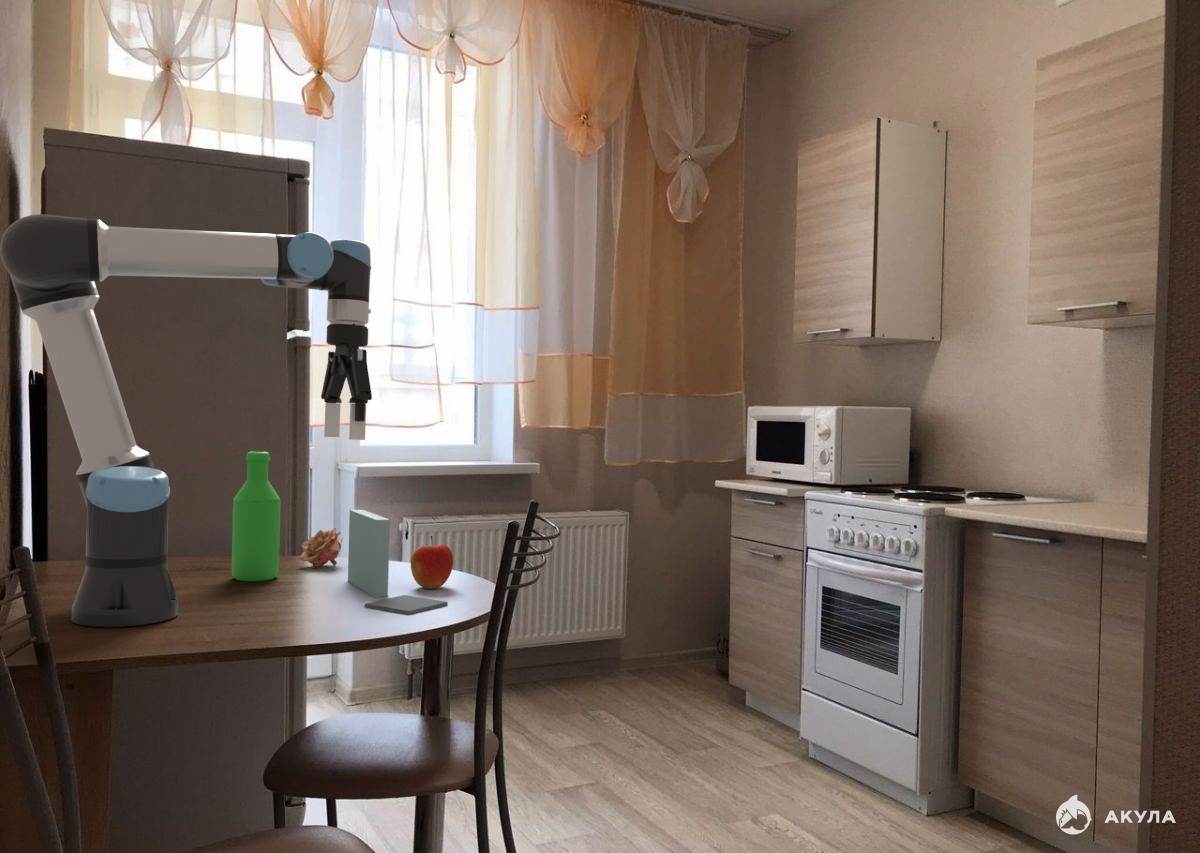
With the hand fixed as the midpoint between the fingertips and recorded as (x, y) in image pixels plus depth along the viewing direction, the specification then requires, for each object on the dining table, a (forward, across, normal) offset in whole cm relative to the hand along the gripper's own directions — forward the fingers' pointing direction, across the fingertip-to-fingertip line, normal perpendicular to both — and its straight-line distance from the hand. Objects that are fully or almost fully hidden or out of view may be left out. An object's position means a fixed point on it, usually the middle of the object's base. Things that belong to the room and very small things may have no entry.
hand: (344, 438), depth 181 cm
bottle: (+29, +19, +10) cm, 36 cm away
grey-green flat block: (+28, -1, -5) cm, 29 cm away
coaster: (+28, -19, -5) cm, 35 cm away
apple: (+28, -5, -16) cm, 33 cm away
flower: (+29, +27, -6) cm, 40 cm away
